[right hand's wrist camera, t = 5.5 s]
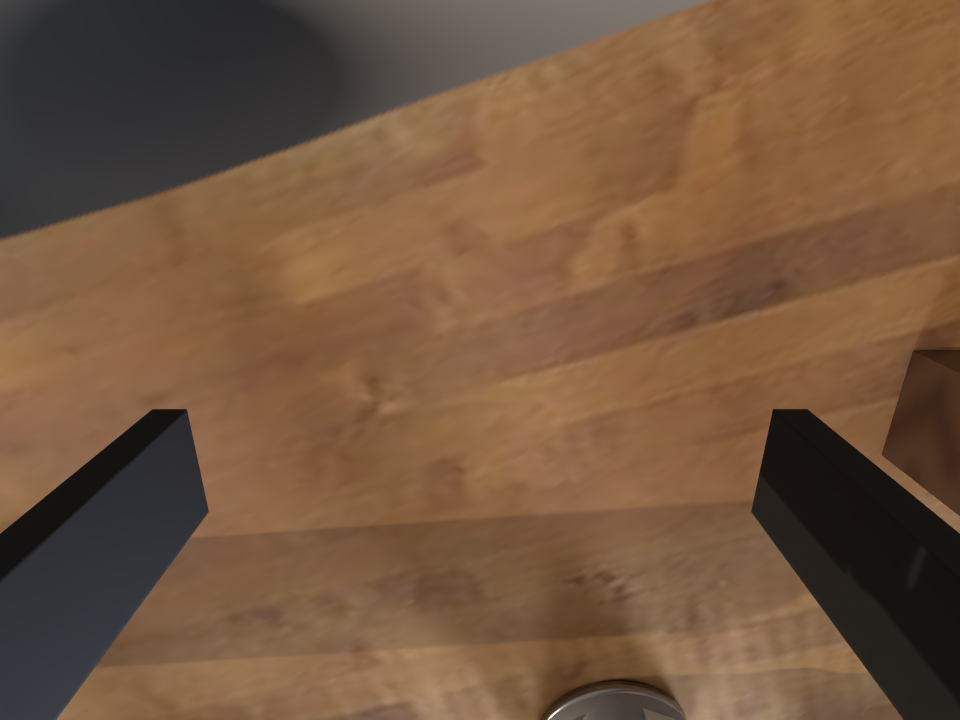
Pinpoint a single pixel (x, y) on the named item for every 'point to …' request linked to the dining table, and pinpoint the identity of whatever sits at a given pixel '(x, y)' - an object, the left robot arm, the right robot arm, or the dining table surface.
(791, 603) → the dining table surface
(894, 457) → the walnut beam
